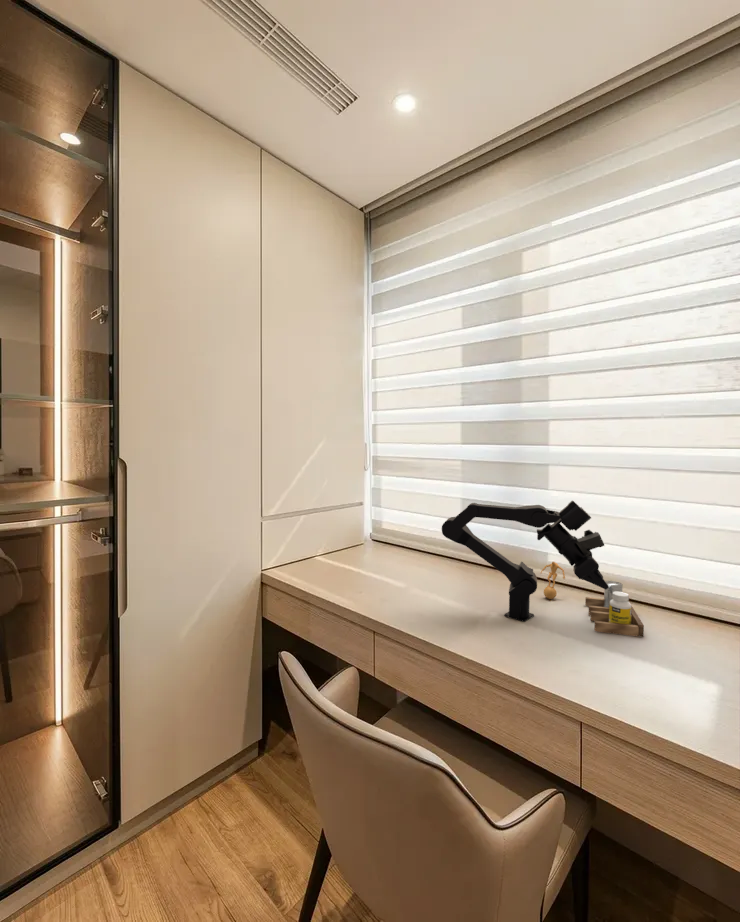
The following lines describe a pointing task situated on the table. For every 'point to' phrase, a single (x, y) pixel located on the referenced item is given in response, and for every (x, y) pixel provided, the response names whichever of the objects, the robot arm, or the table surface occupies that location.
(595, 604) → the wooden rack
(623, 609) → the supplement bottle
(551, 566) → the figurine
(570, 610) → the table surface
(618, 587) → the grey can
